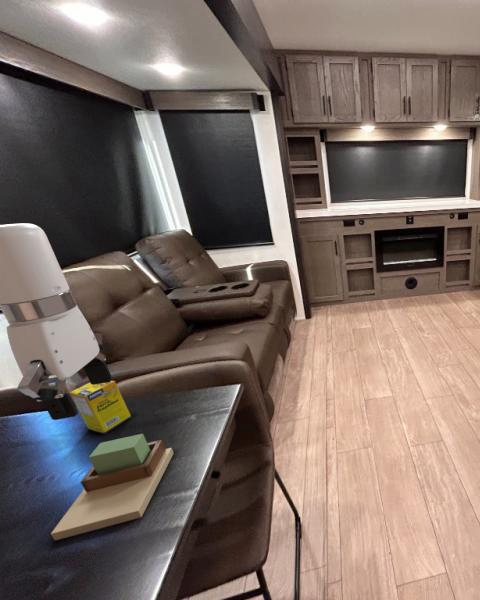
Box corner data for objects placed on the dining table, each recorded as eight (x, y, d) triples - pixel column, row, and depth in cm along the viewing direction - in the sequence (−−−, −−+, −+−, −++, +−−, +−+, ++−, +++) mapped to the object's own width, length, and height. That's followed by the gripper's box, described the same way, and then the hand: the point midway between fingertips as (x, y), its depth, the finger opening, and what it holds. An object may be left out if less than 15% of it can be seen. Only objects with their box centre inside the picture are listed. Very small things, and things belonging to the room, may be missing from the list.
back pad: (145, 471, 60) (133, 447, 58) (101, 482, 58) (88, 457, 56) (153, 457, 63) (143, 433, 61) (112, 466, 61) (100, 442, 59)
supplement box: (132, 418, 78) (115, 380, 74) (105, 436, 72) (84, 396, 69) (117, 414, 80) (99, 377, 76) (88, 431, 74) (68, 392, 70)
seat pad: (142, 519, 53) (132, 500, 51) (55, 542, 50) (42, 523, 49) (174, 454, 66) (167, 437, 64) (106, 470, 63) (97, 453, 61)
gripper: (52, 292, 56) (91, 375, 62) (-48, 334, 40) (17, 440, 46) (103, 287, 58) (135, 368, 64) (25, 325, 42) (78, 428, 48)
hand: (85, 398), depth 55 cm, fingers open, 9 cm apart
